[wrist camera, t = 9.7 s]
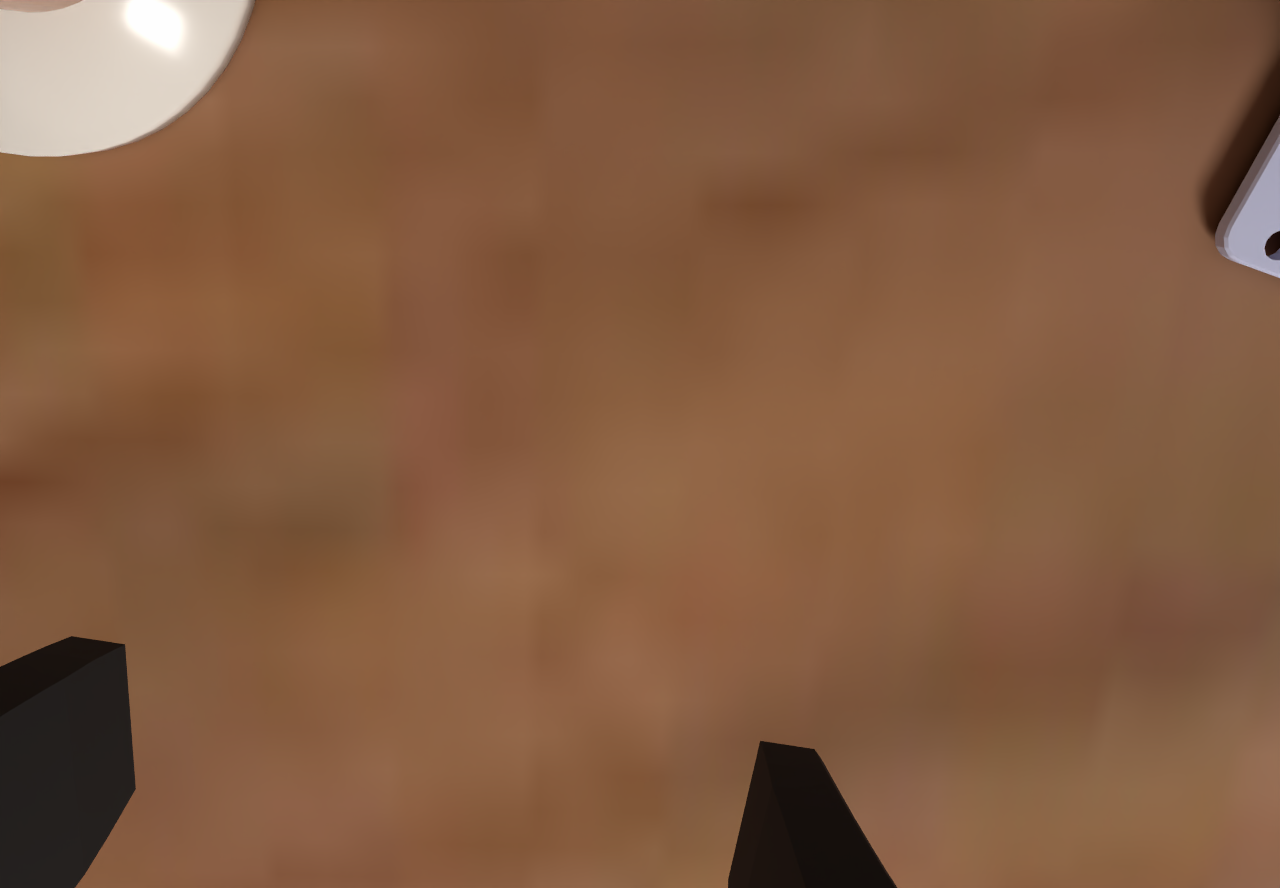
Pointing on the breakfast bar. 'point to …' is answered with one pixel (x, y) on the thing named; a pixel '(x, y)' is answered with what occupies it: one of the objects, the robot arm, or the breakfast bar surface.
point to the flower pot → (35, 5)
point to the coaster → (109, 70)
